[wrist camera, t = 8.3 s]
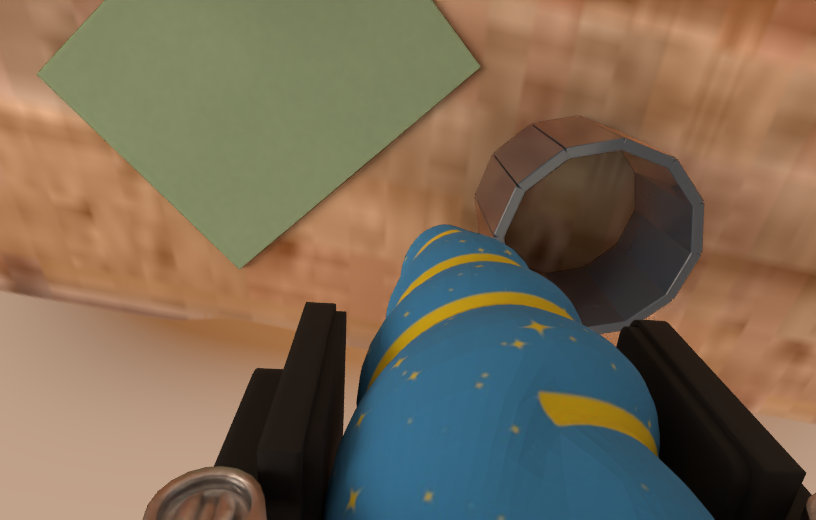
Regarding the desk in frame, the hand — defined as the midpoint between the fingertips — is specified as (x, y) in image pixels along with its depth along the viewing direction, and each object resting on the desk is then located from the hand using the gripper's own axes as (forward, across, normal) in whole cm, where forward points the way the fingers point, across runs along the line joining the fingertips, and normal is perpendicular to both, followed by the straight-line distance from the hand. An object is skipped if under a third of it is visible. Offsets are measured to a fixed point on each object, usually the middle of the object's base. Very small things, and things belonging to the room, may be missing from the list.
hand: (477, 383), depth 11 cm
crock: (+25, -9, +4) cm, 27 cm away
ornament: (+8, 0, 0) cm, 8 cm away
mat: (+25, +10, -3) cm, 27 cm away
